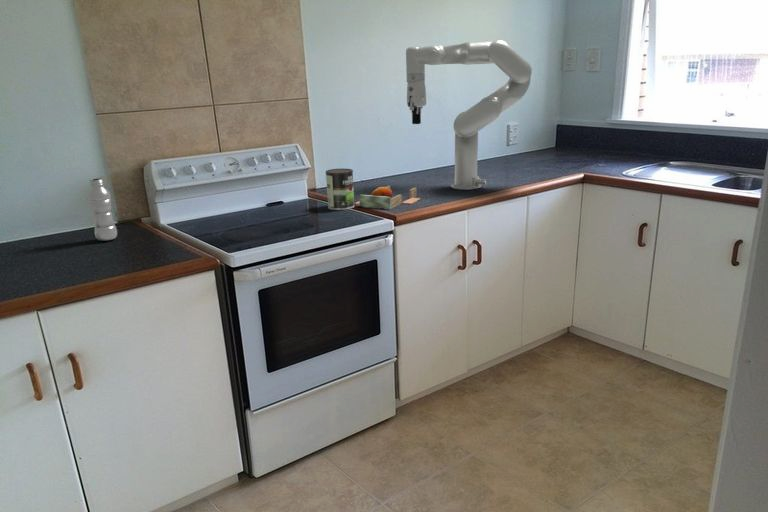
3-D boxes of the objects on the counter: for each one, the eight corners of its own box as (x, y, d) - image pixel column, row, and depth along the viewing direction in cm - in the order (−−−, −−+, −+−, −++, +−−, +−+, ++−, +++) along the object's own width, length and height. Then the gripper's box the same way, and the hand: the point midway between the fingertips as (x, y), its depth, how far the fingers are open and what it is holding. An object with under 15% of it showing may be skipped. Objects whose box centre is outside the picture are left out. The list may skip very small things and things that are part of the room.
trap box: (416, 196, 239) (416, 185, 237) (390, 209, 218) (389, 197, 217) (388, 193, 244) (388, 183, 243) (359, 206, 224) (359, 195, 223)
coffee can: (359, 205, 226) (358, 169, 222) (344, 211, 218) (342, 173, 214) (338, 203, 232) (336, 167, 227) (322, 208, 223) (319, 171, 219)
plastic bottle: (100, 237, 195) (89, 178, 188) (121, 236, 195) (110, 177, 189) (93, 243, 188) (80, 181, 182) (114, 242, 189) (103, 180, 183)
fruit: (378, 205, 220) (373, 185, 221) (372, 211, 227) (367, 192, 228) (398, 202, 223) (393, 182, 224) (391, 209, 230) (386, 190, 231)
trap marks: (420, 199, 233) (420, 198, 232) (403, 208, 219) (403, 207, 219) (374, 195, 242) (374, 194, 242) (354, 204, 229) (354, 203, 229)
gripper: (416, 79, 234) (417, 125, 240) (431, 77, 246) (431, 122, 252) (399, 79, 237) (400, 125, 243) (414, 78, 250) (415, 122, 256)
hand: (416, 123), depth 248 cm, fingers closed
